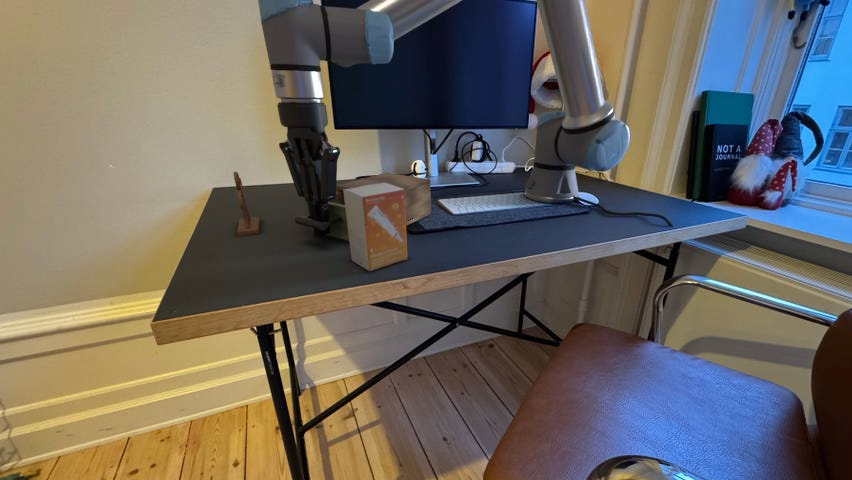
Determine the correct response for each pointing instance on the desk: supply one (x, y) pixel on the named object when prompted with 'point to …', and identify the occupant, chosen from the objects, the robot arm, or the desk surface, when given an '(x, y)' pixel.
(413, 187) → the cabinet
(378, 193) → the small box
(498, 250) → the desk surface
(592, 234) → the desk surface
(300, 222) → the drawer
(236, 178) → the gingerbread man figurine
